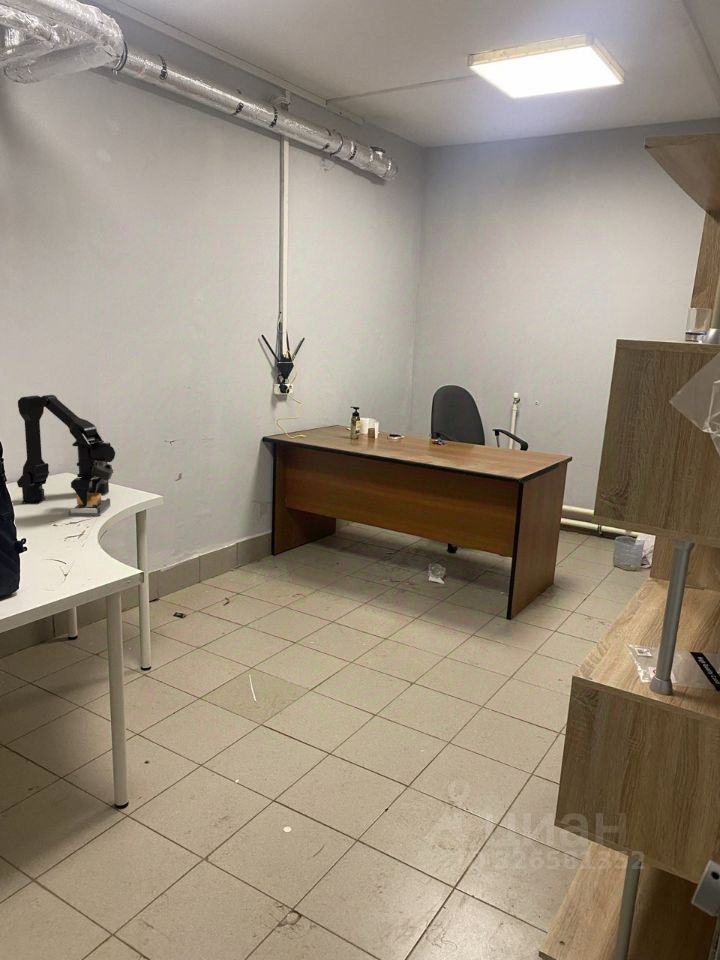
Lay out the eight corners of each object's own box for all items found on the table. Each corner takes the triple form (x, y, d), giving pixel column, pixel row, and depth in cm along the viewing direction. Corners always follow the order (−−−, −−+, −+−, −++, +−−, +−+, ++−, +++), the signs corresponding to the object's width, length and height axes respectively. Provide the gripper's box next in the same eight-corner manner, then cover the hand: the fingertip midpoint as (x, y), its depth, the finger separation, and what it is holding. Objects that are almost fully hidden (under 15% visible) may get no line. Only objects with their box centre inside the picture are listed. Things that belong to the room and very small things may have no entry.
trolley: (77, 509, 246) (76, 496, 244) (82, 506, 250) (81, 492, 249) (97, 510, 246) (96, 496, 245) (101, 506, 251) (100, 493, 250)
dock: (68, 515, 242) (67, 507, 241) (80, 505, 254) (79, 497, 254) (100, 516, 243) (99, 507, 242) (110, 506, 255) (110, 498, 254)
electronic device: (81, 495, 268) (78, 444, 264) (86, 491, 274) (83, 442, 269) (105, 495, 269) (102, 445, 264) (110, 491, 274) (107, 442, 270)
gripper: (102, 465, 236) (104, 508, 239) (117, 454, 254) (119, 495, 257) (69, 464, 235) (71, 508, 238) (86, 453, 253) (88, 494, 256)
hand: (89, 501), depth 248 cm, fingers open, 9 cm apart
